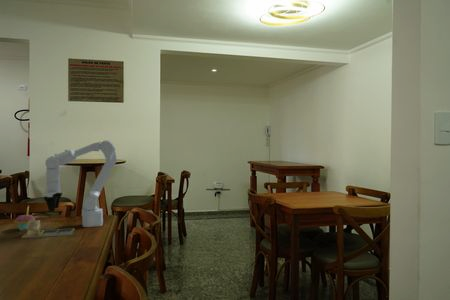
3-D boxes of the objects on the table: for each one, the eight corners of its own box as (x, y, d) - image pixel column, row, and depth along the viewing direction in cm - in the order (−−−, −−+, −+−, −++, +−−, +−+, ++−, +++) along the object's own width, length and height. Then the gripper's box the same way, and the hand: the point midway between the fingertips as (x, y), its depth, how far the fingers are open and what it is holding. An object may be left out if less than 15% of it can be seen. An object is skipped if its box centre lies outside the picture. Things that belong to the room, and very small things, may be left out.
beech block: (40, 233, 146) (40, 220, 146) (37, 235, 143) (37, 222, 142) (30, 233, 145) (30, 220, 145) (27, 236, 141) (27, 222, 141)
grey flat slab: (75, 231, 153) (75, 228, 153) (71, 236, 144) (71, 233, 144) (27, 234, 147) (27, 231, 147) (20, 240, 138) (20, 237, 138)
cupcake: (39, 227, 160) (38, 203, 160) (27, 232, 152) (27, 206, 151) (22, 226, 161) (22, 203, 160) (10, 231, 152) (9, 206, 152)
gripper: (47, 180, 160) (48, 207, 160) (39, 183, 146) (40, 213, 146) (63, 179, 161) (63, 206, 162) (56, 183, 147) (57, 212, 148)
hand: (53, 209), depth 154 cm, fingers open, 7 cm apart
